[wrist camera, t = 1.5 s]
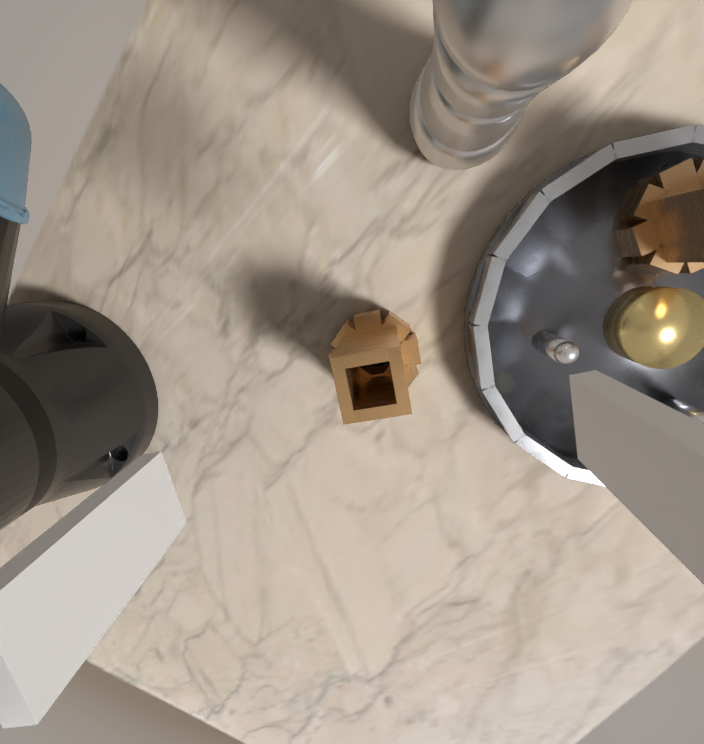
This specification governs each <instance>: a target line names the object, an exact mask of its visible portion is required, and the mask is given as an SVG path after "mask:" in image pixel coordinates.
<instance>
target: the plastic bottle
mask: <svg viewBox="0 0 704 744" xmlns="http://www.w3.org/2000/svg"><path fill="white" fill-rule="evenodd" d="M631 3H632V0H433V17H434V40H433V49H432V53H431V55H430V58H429V59H428V61H427V62H426V64H425V66H424V67H423V69H422V71H421V73H420V75H419V77H418V79H417V81H416V84H415V86H414V89H413V92H412V96H411V101H410V114H409V119H410V125H411V130H412V133H413V136H414V139H415V141H416V144H417V146H418V148H419V149H420V151H421V153H422V154H423V155H424V156H425V157H426V158H427V159H428V160H429V161H430V162H432V163H433V164H435V165H436V166H439V167H441V168H444V169H449V170H464V169H468V168H472V167H475V166H478V165H481V164H482V163H484V162H486V161H488V160H490V159H491V158H492V157H494V156H495V155H496V154H498V153H499V152H500V151H501V150H502V148H503V147H504V146H505V145H506V144H507V143H508V141H509V140H510V138H511V136H512V135H513V133H514V132H515V130H516V128H517V126H518V124H519V121H520V119H521V117H522V114H523V112H524V109H525V107H526V106H527V104H528V103H529V102H530V101H531V100H532V99H533V98H535V97H536V96H537V95H538V94H539V93H540V92H541V91H543V90H544V89H546V88H547V87H549V86H550V85H552V84H553V83H555V82H556V81H558V80H559V79H561V78H563V77H564V76H566V75H567V74H569V73H570V72H571V71H573V70H574V69H575V68H576V67H578V66H579V65H580V64H581V63H583V62H584V61H585V60H586V59H587V58H588V57H590V56H591V55H592V54H593V53H594V52H596V51H597V50H598V49H599V48H600V47H601V45H602V44H603V43H604V42H605V41H606V40H607V39H608V38H609V37H610V36H611V35H612V33H613V32H614V31H615V29H616V28H617V26H618V25H619V23H620V22H621V20H622V19H623V17H624V16H625V14H626V13H627V11H628V9H629V7H630V5H631Z"/></svg>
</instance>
